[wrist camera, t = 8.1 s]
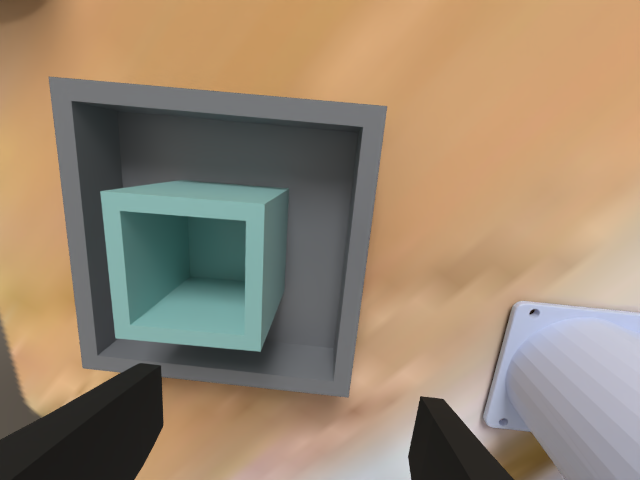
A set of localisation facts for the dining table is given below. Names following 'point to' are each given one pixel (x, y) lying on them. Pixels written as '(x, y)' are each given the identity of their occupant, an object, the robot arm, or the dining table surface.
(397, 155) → the dining table surface
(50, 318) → the dining table surface
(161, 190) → the small crate
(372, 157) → the big crate
